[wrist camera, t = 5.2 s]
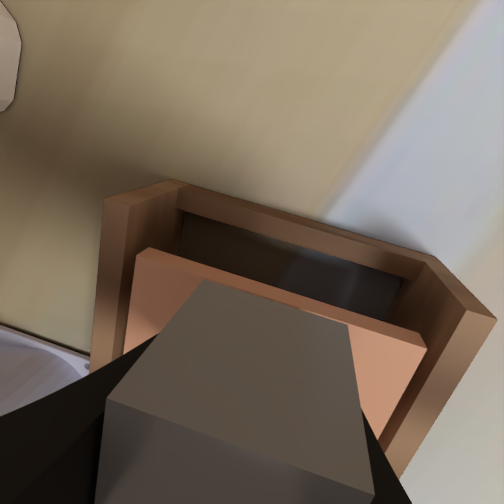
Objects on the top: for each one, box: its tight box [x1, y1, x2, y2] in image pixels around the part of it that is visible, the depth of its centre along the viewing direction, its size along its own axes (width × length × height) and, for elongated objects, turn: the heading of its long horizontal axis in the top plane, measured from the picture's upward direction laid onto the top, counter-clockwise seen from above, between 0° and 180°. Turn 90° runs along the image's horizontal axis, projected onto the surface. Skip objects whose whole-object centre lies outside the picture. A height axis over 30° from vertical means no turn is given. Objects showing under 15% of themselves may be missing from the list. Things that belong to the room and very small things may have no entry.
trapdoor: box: [123, 247, 427, 440], centre depth 16 cm, size 16×11×2 cm
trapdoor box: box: [89, 179, 498, 479], centre depth 18 cm, size 19×14×6 cm
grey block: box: [94, 279, 375, 504], centre depth 8 cm, size 4×4×5 cm
